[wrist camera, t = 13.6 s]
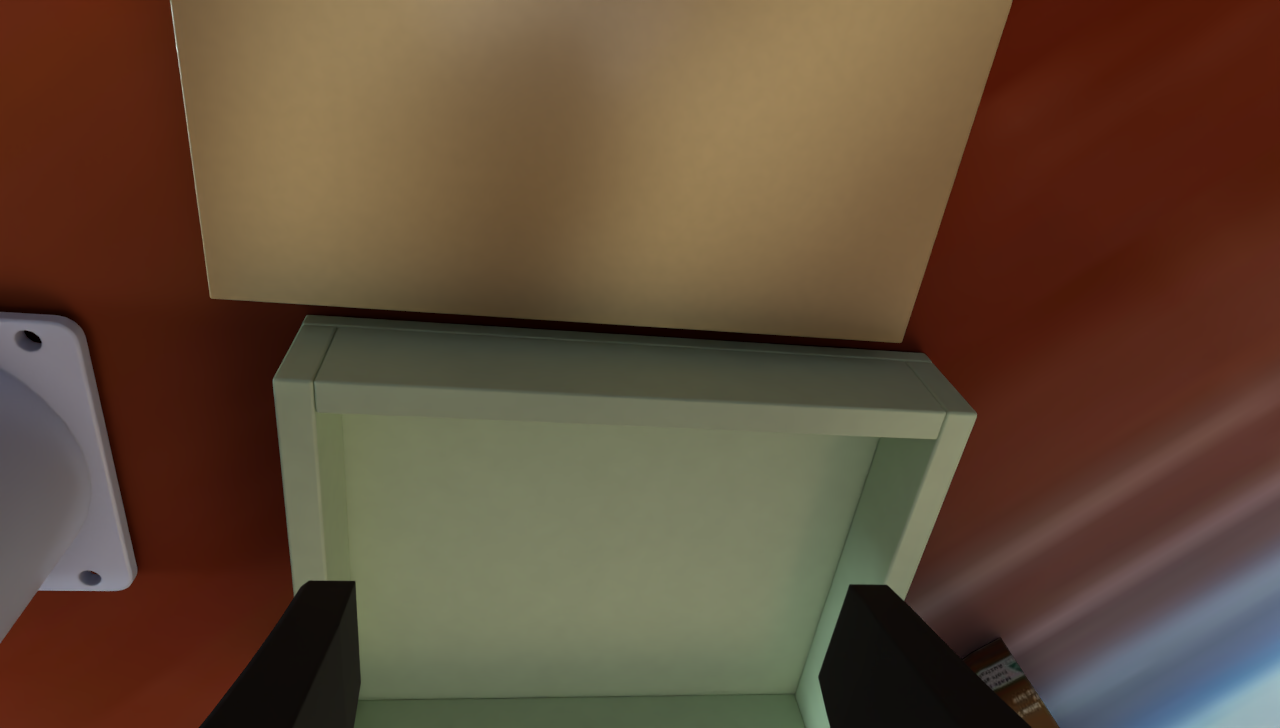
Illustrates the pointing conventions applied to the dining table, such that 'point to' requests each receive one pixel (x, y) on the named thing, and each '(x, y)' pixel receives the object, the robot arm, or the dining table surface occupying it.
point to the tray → (603, 515)
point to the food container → (1010, 683)
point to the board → (583, 155)
